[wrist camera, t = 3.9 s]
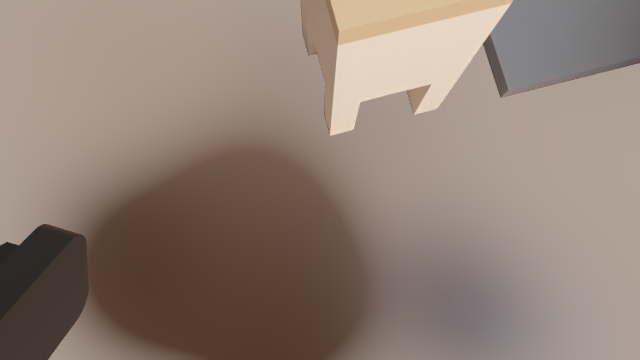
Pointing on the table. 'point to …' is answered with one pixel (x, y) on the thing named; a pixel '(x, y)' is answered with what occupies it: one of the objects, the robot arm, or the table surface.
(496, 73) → the trivet
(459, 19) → the stool
